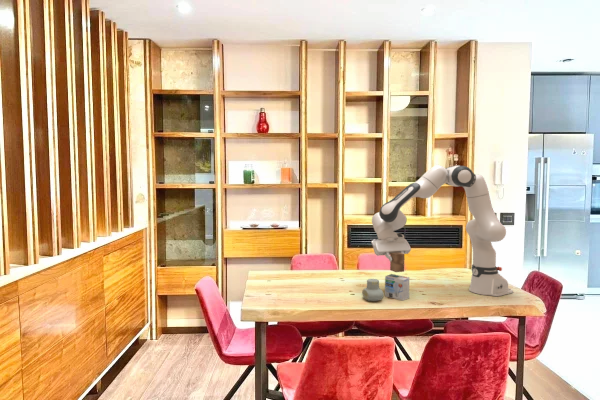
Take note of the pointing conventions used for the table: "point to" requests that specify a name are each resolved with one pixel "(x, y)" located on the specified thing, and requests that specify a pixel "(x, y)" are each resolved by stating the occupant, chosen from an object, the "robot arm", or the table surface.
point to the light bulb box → (397, 287)
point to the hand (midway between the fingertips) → (397, 260)
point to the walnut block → (397, 262)
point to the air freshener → (372, 291)
